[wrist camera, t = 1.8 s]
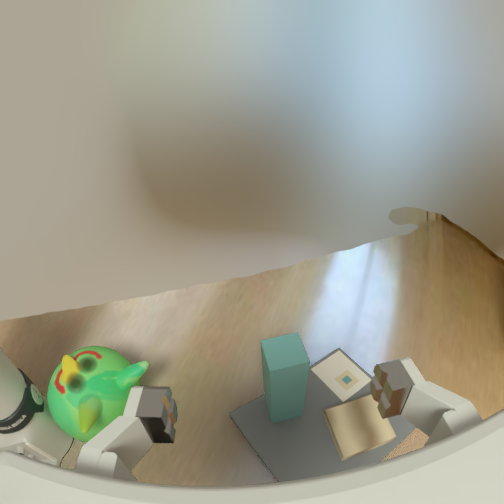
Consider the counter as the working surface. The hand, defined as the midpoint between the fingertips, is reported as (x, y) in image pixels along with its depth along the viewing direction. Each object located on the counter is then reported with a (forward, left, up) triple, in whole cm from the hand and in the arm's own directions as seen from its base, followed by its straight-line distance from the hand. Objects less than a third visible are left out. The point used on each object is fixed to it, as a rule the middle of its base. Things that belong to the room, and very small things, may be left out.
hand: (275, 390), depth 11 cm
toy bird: (-17, +28, -38) cm, 50 cm away
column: (+11, +14, -37) cm, 41 cm away
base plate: (+15, +7, -38) cm, 41 cm away
